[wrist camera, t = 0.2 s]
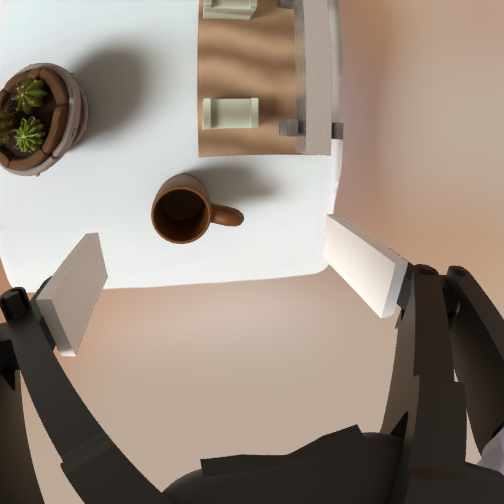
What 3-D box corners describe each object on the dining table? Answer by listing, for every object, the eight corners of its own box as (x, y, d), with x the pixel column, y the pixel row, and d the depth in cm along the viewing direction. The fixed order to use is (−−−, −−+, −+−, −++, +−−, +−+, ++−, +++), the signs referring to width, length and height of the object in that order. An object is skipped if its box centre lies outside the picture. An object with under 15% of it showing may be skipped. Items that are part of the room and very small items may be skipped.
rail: (291, -34, 21) (299, -44, 18) (313, -29, 22) (322, -38, 19) (295, 152, 33) (305, 154, 30) (318, 152, 33) (330, 155, 31)
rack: (200, -17, 27) (206, -57, 16) (310, -7, 30) (344, -36, 19) (198, 156, 39) (202, 165, 28) (313, 154, 42) (353, 164, 32)
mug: (240, 181, 42) (253, 194, 34) (230, 228, 45) (241, 252, 36) (161, 170, 39) (153, 181, 30) (155, 219, 41) (147, 242, 33)
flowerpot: (104, 64, 30) (46, 23, 12) (101, 161, 36) (37, 189, 18) (26, 83, 26) (-51, 72, 9) (26, 173, 33) (-53, 207, 15)
